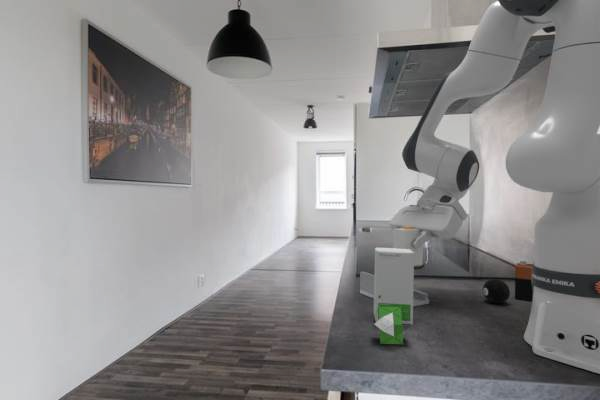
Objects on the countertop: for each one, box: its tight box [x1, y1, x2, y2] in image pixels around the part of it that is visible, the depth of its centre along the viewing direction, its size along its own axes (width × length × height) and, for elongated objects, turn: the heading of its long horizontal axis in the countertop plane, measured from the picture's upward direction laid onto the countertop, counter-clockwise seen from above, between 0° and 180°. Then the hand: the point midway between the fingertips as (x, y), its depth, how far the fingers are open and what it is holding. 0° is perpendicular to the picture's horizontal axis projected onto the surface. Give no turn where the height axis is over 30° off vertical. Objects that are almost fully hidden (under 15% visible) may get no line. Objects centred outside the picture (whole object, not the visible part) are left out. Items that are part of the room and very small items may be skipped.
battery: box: [514, 260, 534, 302], centre depth 97 cm, size 4×7×10 cm, turn 54°
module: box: [393, 226, 424, 267], centre depth 93 cm, size 4×6×10 cm, turn 116°
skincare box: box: [373, 247, 415, 325], centre depth 82 cm, size 8×7×16 cm
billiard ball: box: [482, 278, 511, 304], centre depth 94 cm, size 6×6×6 cm
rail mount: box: [359, 271, 430, 307], centre depth 99 cm, size 16×10×6 cm, turn 26°
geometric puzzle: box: [371, 306, 412, 346], centre depth 69 cm, size 7×7×8 cm
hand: (406, 245), depth 93 cm, fingers closed on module, 4 cm apart
